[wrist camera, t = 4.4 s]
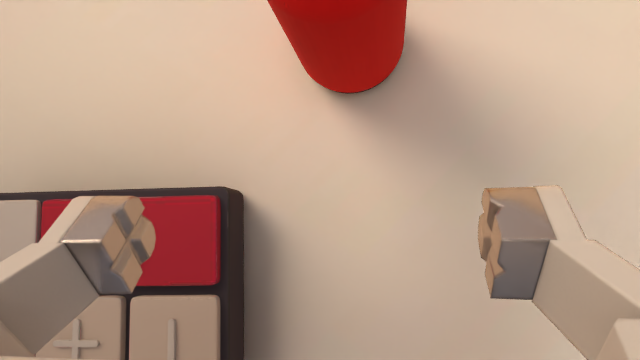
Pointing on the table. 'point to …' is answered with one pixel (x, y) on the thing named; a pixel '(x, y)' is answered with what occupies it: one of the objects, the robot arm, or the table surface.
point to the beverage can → (345, 39)
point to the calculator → (153, 277)
